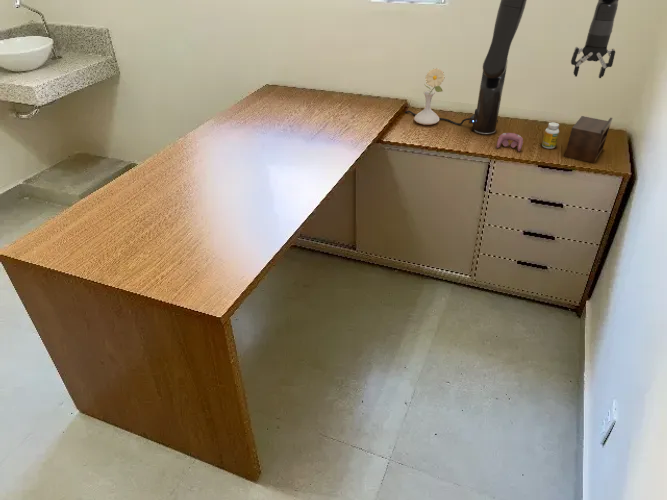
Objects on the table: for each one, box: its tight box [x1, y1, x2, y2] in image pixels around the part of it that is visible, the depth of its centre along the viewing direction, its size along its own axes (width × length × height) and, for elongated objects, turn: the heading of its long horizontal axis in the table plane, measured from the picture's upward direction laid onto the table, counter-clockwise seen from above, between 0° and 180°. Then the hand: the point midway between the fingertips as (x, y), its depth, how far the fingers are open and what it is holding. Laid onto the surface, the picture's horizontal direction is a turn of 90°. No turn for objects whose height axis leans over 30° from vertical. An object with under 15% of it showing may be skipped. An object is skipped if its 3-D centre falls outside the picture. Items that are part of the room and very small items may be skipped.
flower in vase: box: [413, 67, 446, 126], centre depth 223 cm, size 13×11×25 cm
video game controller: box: [496, 132, 524, 153], centre depth 206 cm, size 10×5×7 cm, turn 65°
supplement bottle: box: [541, 121, 560, 150], centre depth 205 cm, size 5×5×10 cm
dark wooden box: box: [564, 115, 613, 164], centre depth 198 cm, size 11×14×14 cm
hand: (587, 76), depth 194 cm, fingers open, 8 cm apart
